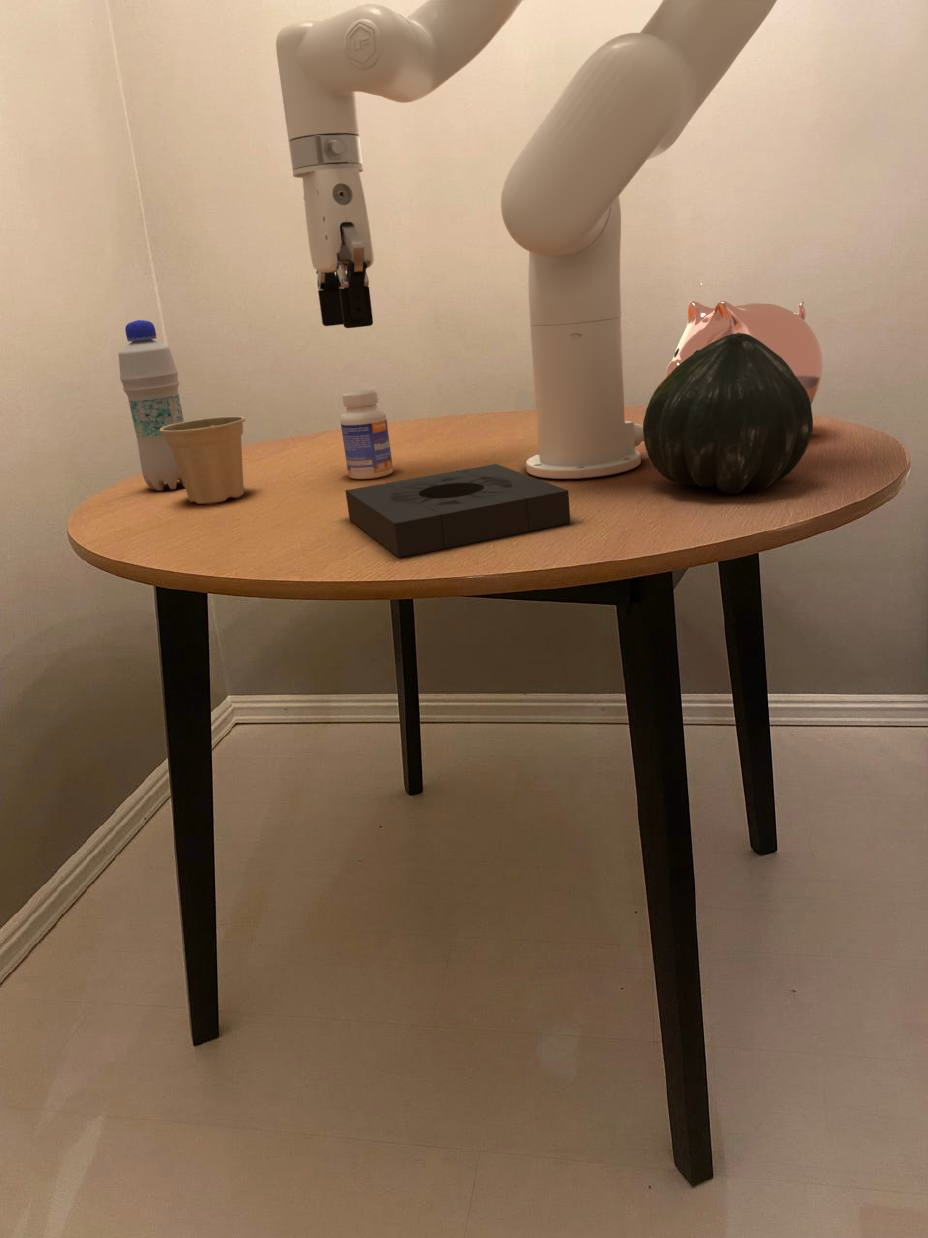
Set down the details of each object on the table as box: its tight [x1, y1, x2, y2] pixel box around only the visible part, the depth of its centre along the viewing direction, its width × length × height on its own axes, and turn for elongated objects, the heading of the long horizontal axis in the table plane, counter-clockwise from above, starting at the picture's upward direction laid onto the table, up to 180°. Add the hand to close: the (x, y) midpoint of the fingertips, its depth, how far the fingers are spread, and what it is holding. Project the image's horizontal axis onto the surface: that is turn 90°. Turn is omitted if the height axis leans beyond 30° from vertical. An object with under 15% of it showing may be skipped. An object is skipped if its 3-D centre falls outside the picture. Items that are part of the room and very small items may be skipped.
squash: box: [642, 333, 814, 495], centre depth 88 cm, size 14×15×15 cm
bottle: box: [117, 319, 185, 492], centre depth 114 cm, size 7×7×20 cm
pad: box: [345, 463, 571, 559], centre depth 87 cm, size 16×16×3 cm
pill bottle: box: [339, 389, 394, 480], centre depth 110 cm, size 5×5×10 cm
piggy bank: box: [665, 300, 823, 437], centre depth 108 cm, size 15×18×16 cm
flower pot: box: [160, 415, 246, 505], centre depth 107 cm, size 9×9×9 cm
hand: (347, 325), depth 106 cm, fingers open, 9 cm apart
